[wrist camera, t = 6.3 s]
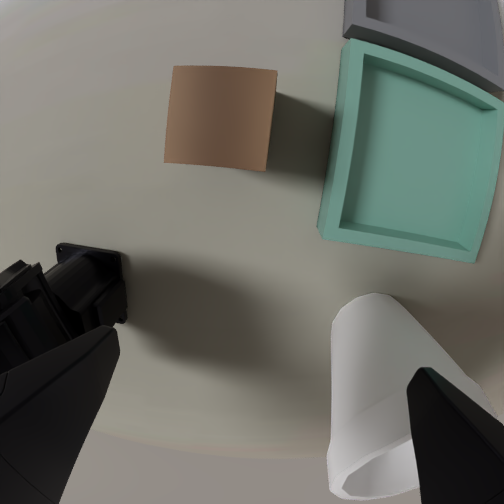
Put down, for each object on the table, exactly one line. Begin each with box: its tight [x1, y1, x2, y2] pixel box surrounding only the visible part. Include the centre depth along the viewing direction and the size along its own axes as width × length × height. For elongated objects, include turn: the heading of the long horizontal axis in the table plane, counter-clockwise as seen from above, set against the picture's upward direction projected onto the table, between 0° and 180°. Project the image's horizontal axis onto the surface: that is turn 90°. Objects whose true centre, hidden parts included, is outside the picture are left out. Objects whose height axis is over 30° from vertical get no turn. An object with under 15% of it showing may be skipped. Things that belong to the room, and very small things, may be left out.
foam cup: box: [327, 293, 498, 500], centre depth 16 cm, size 10×9×13 cm
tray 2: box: [317, 38, 504, 263], centre depth 15 cm, size 12×12×2 cm
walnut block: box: [164, 66, 277, 172], centre depth 14 cm, size 4×4×6 cm
